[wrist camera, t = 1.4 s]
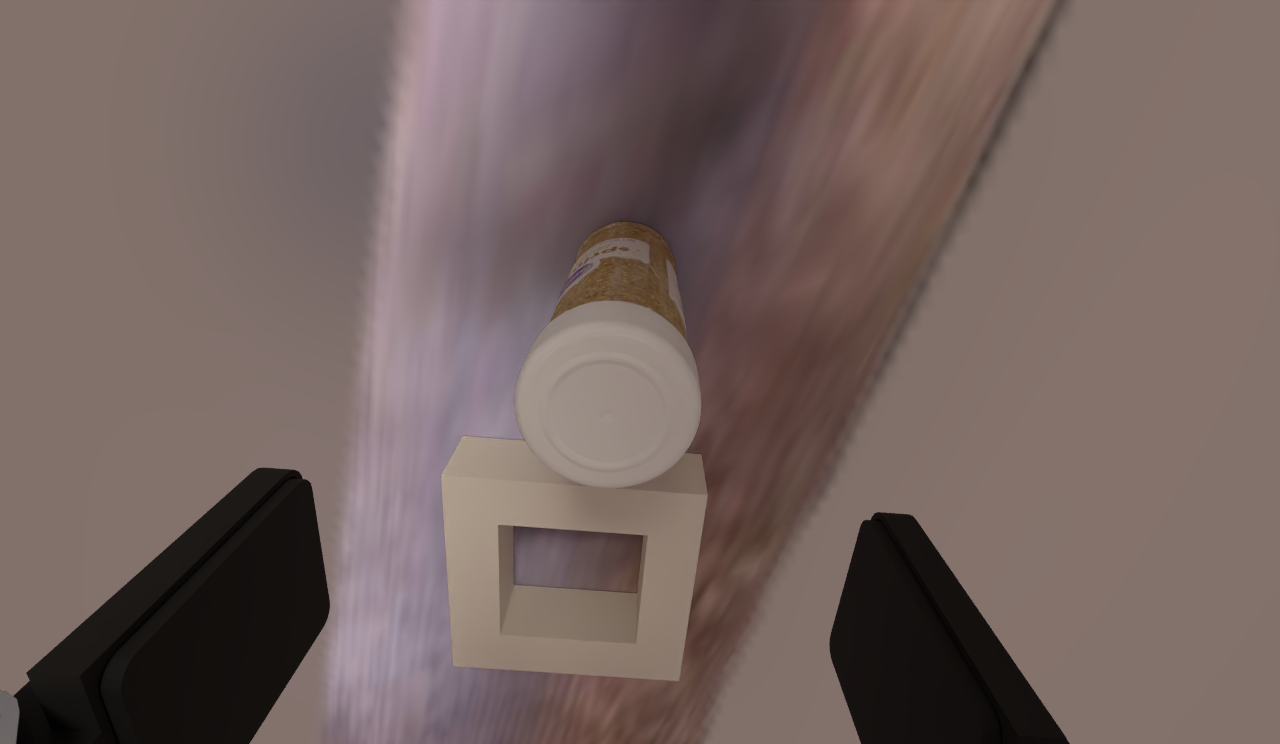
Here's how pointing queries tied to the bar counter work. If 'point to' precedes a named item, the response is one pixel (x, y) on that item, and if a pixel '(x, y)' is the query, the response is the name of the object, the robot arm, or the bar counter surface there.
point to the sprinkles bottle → (612, 366)
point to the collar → (558, 617)
